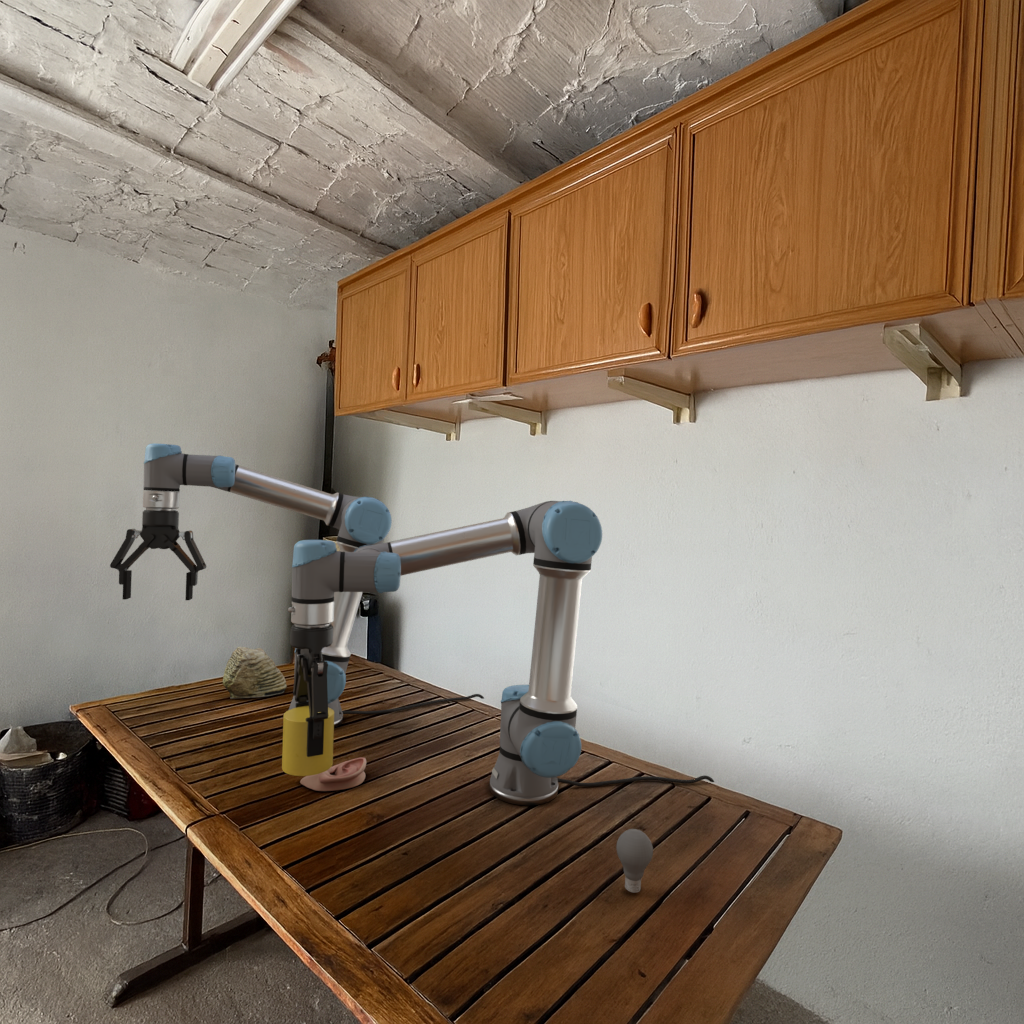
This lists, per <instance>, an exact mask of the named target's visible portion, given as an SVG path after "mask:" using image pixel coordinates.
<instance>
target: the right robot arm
mask: <svg viewBox="0 0 1024 1024" xmlns="http://www.w3.org/2000/svg"><path fill="white" fill-rule="evenodd" d="M602 541H603V527H602V523H601V521H600V519H599V517H598V516H597V514H596V513H595V512H594V511H593V509H591V507H588V505H585V504H583V503H580V502H578V501H573V500H547V501H544V502H540V503H537V504H534V505H531V506H529V507H525V508H522V509H517V510H513V511H508V512H506V514H505V515H504V517H502V518H497V519H493V520H492V519H491V520H489V521H483V522H477V523H474V524H469V525H464V526H460V527H459V526H458V527H454V528H450V529H449V528H448V529H445V530H440V531H439V530H438V531H434V532H430V533H425V534H421V535H415V536H411V537H406V538H401V539H396V540H391V541H389V542H383V543H381V544H377V545H364V546H361V547H359V548H358V549H356V550H355V551H354V552H341V551H340V550H338V549H337V543H336V541H333V540H329V539H328V540H327V539H303V540H299V541H297V542H296V543H295V544H294V546H293V552H292V553H293V555H292V564H291V606H290V607H288V608H287V610H288V611H287V612H288V613H291V615H290V622H291V623H292V625H291V626H290V632H289V634H290V636H289V637H290V638H289V644H290V646H291V647H292V648H294V649H295V648H296V665H295V664H294V672H295V677H294V676H293V688H292V690H293V691H292V696H295V701H296V702H298V703H296V708H297V707H302V706H309V714H310V717H308V718H306V722H308V729H307V757H311V756H317V755H323V742H324V719H328V691H327V669H328V663H327V661H326V662H325V659H324V656H322V649H323V648H324V647H328V646H330V645H331V644H332V643H333V626H332V624H330V623H332V622H333V621H334V593H335V592H363V593H378V594H383V593H394V592H397V591H398V590H399V589H400V586H401V577H402V576H406V575H410V574H415V573H421V572H424V571H430V570H433V569H434V570H435V569H438V568H443V567H448V566H452V565H457V564H458V565H459V564H462V563H466V562H471V561H472V562H473V561H476V560H480V559H484V558H485V559H486V558H490V557H495V556H499V555H504V554H508V553H511V554H513V555H515V556H521V555H526V554H533V562H532V565H533V567H534V568H535V570H536V571H537V572H538V574H539V576H538V578H539V579H538V587H537V588H538V589H537V597H536V598H537V599H536V608H535V618H534V619H535V621H534V629H533V639H532V651H531V660H530V670H529V671H530V672H529V680H528V681H529V682H528V684H514V685H509V686H507V687H505V688H503V690H502V692H501V693H502V694H501V700H500V704H501V705H500V726H499V727H500V728H499V731H500V732H499V751H498V752H499V753H498V756H497V759H496V761H495V764H494V766H493V767H492V770H491V775H490V779H489V791H490V793H491V795H493V796H494V797H495V798H496V799H498V800H499V801H502V802H505V803H509V804H512V805H519V806H538V805H542V804H543V805H544V804H546V803H549V802H551V801H553V800H554V799H555V798H557V796H558V795H559V794H558V793H559V783H561V784H567V785H571V786H574V787H582V788H583V787H584V788H591V787H592V788H593V787H602V786H608V785H616V784H624V783H632V782H639V781H658V782H668V783H675V784H686V785H687V784H689V785H690V784H695V783H698V782H701V781H704V780H707V781H709V782H710V783H715V780H714V779H713V778H712V777H711V776H709V775H700V776H698V777H694V778H691V779H680V778H679V779H678V778H671V777H664V776H651V775H647V776H645V775H644V776H634V777H633V776H632V777H628V778H620V779H619V778H618V779H612V780H604V781H596V782H578V781H573V780H570V779H565V778H560V777H561V776H564V775H566V773H568V771H570V770H571V769H573V768H574V767H575V765H577V762H578V761H579V759H580V756H581V754H582V739H581V737H580V733H579V732H578V730H577V729H576V727H577V726H576V724H577V715H578V704H577V703H576V701H575V700H574V699H573V697H572V689H573V688H572V686H573V677H574V667H575V656H576V646H577V637H578V636H577V635H578V627H579V626H578V625H579V616H580V604H581V597H582V596H581V594H582V585H583V579H584V578H585V577H586V576H587V575H588V574H589V573H591V569H592V561H593V557H594V556H595V554H596V553H598V551H599V549H600V547H601V544H602ZM307 700H308V701H309V702H307ZM318 712H321V713H318ZM694 779H695V780H694Z"/></svg>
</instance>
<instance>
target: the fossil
mask: <svg viewBox="0 0 1024 1024" xmlns="http://www.w3.org/2000/svg"><path fill="white" fill-rule="evenodd" d="M222 676H223V677H222V685H223V687H224V688H225V690H226V691H228V693H229V698H230V699H250V698H264V697H271V696H275V695H281V694H284V693H285V691H286V689H287V687H288V686H287V680H286V678H285V676H284V674H283V673H282V672H281V669H279V668H278V667H277V665H276V663H275V662H274V660H273V659H272V658H271V657H270V656H269V655H268V654H267V653H266V652H265V650H264V649H263V648H260V647H258V648H251V647H247V646H246V647H245V646H238V647H237V648H236V649H235V650H233V651H232V653H231V656H230V657H229V659H228V660H227V663H226V666H225V668H224V671H223V675H222Z"/></svg>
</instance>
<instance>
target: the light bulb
mask: <svg viewBox="0 0 1024 1024" xmlns="http://www.w3.org/2000/svg"><path fill="white" fill-rule="evenodd" d="M615 849H616V854H617V857H618V859H619V861H620V863H621V865H622V867H623V873H624V874H623V875H624V876H625V878H624V888H625V890H627V891H628V892H630V893H634V894H635V893H639V892H640V891H641V889H642V887H641V886H642V879H643V877H644V875H645V871H646V868H647V867H648V866H649V864H650V863H651V861H652V859H653V855H654V847H653V843H652V841H651V838H649V836H648V835H647V834H646V833H645V832H643V831H642V830H641V829H636V828H629V829H627V830H625V831H623V832H622V833H621V834H620V835H619V837H618V839H617V841H616V847H615Z"/></svg>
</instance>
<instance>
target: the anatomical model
mask: <svg viewBox="0 0 1024 1024" xmlns="http://www.w3.org/2000/svg"><path fill="white" fill-rule="evenodd" d="M366 766H367V759H366V757H361V756H360V757H356V758H352V759H349V760H345V761H343V762H340V763H337V764H335V765H332V767H331V768H330V769H328V770H327V771H325V772H322V773H319V774H316V775H310V776H303V777H302V778H301V779H300V781H299V783H300V785H302V786H304V787H305V788H307V789H310V790H313V791H316V792H331V791H332V792H333V791H340V790H346V789H351V788H355V787H357V786H359V785H361V784H362V783H363V782H365V779H366V772H365V769H366Z"/></svg>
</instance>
